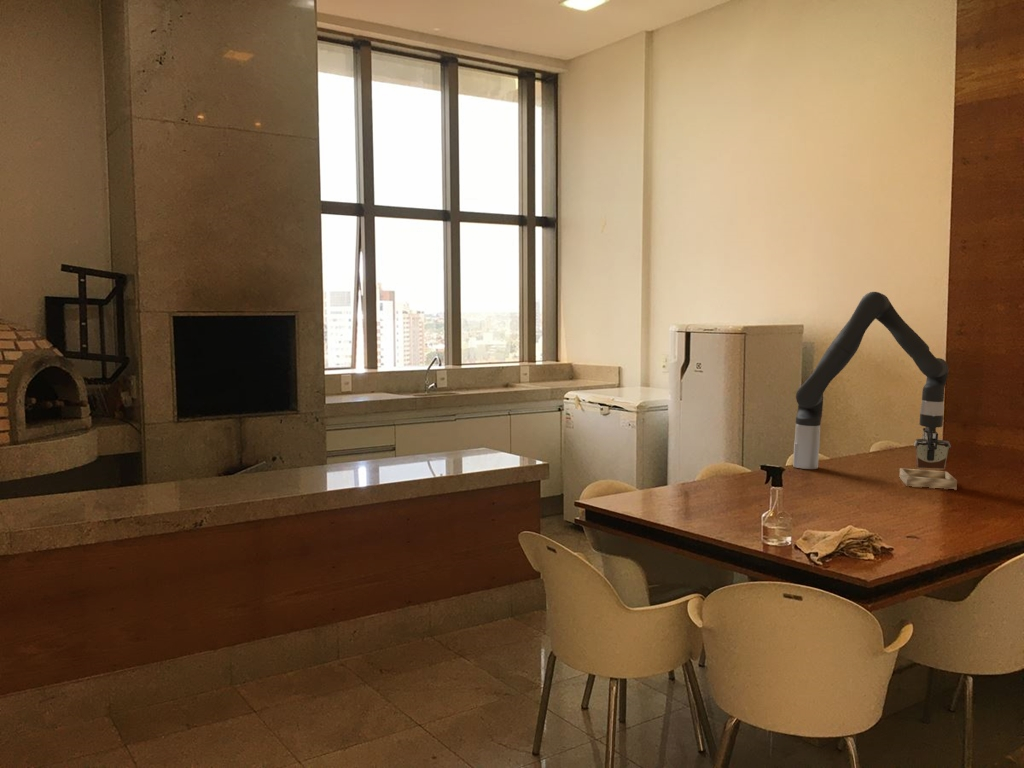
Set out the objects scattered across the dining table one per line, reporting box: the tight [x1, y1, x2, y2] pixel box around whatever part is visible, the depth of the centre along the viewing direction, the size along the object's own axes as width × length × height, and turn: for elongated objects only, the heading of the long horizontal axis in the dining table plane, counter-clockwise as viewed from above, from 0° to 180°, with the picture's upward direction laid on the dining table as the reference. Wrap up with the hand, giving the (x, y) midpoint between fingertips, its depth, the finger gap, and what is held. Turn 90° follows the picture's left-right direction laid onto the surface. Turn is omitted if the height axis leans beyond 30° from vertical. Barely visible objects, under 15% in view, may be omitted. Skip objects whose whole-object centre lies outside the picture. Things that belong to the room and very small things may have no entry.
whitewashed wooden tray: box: [899, 467, 958, 491], centre depth 295 cm, size 16×16×4 cm
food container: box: [913, 438, 952, 470], centre depth 295 cm, size 12×6×10 cm, turn 84°
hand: (928, 458), depth 295 cm, fingers closed on food container, 6 cm apart
